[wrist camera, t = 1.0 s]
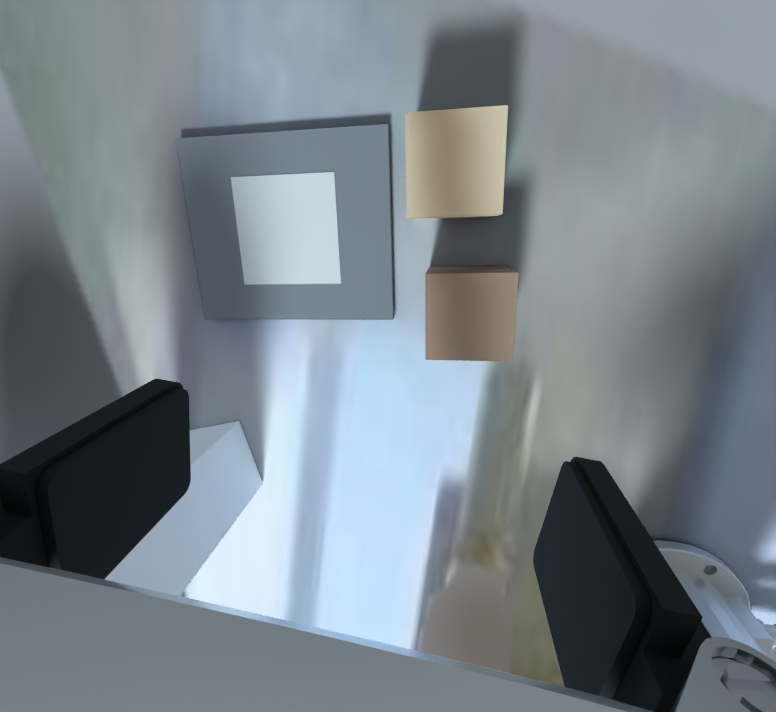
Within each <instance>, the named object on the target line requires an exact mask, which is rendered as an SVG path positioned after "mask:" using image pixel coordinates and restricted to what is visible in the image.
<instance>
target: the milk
mask: <svg viewBox="0 0 776 712" xmlns="http://www.w3.org/2000/svg"><path fill="white" fill-rule="evenodd" d="M190 466H191V482H190V485H189V488H188V490H187V492H186V493H185V494H184V496H183V497H182V498H181V499H180V500H179V501H178V502H177V503H176V504H175V505H174V506H173V507H172V508H171V509H170V510H169V511H168V512H167V514H166V515H165V516H164V517H163V518H162V519H161V520H160V521H159V522H158V523H157V524H156V525H155V526H154V527H153V528H152V529H151V530H150V532H149V533H148V534H147V535H146V536H145V537H144V538H143V539H142V540H141V541H140V542H139V543H138V544H137V545H136V546H135V547H134V548H133V550H132V551H131V552H130V553H129V554H128V555H127V556H126V557H125V558H124V559H123V560H122V561H121V562H120V563H119V564H118V565H117V566H116V568H115V569H114V570H113V571H112V572H111V573H110V574H109V575H108V576H107V577H106V578H105V579H104V580H109V581H113V582H118V583H122V584H127V585H131V586H136V587H140V588H145V589H149V590H153V591H158V592H162V593H167V594H171V595H176V596H180V595H181V594H182V592H183V591H184V590H185V588H186V587H187V586H188V584H189V583H190V582H191V580H192V579H193V577H194V576H195V575H196V573H197V572H198V571H199V569H200V568H201V567H202V565H203V564H204V563H205V561H206V560H207V558H208V557H209V556H210V554H211V553H212V552H213V550H214V549H215V548H216V546H217V545H218V544H219V542H220V541H221V540H222V538H223V537H224V535H225V534H226V533H227V531H228V530H229V529H230V527H231V526H232V525H233V523H234V522H235V521H236V519H237V518H238V517H239V515H240V514H241V512H242V511H243V510H244V508H245V507H246V506H247V504H248V503H249V502H250V500H251V499H252V498H253V496H254V495H255V493H256V492H257V491H258V489H259V488H260V487H261V485H262V484H263V482H262V480H261V477H260V474H259V472H258V469H257V466H256V464H255V461H254V458H253V456H252V453H251V450H250V448H249V445H248V442H247V440H246V437H245V434H244V432H243V429H242V426H241V424H240V422H239V421H236V422H231V423H226V424H220V425H215V426H209V427H204V428H198V429H193V430H190Z"/></svg>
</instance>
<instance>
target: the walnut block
mask: <svg viewBox="0 0 776 712" xmlns="http://www.w3.org/2000/svg"><path fill="white" fill-rule="evenodd" d="M518 277H519V272H517V271H516V270H514V269H512V268H511V267H509V266H508V265H478V266H430V267H429V269H428V270H427V272H426V360H470V361H513V355H514V339H515V324H516V308H517V293H518Z"/></svg>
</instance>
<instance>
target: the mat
mask: <svg viewBox="0 0 776 712" xmlns="http://www.w3.org/2000/svg"><path fill="white" fill-rule="evenodd" d="M176 144H177V150H178V156H179V162H180V169H181V175H182V181H183V187H184V193H185V199H186V206H187V212H188V218H189V224H190V230H191V236H192V243H193V249H194V255H195V261H196V267H197V274H198V280H199V286H200V292H201V298H202V304H203V311H204V317H205V319H355V320H393V319H394V296H393V255H392V214H391V173H390V132H389V125H388V124H379V125H364V126H349V127H335V128H320V129H305V130H291V131H276V132H261V133H247V134H232V135H217V136H203V137H188V138H176Z"/></svg>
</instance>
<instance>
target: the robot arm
mask: <svg viewBox="0 0 776 712" xmlns="http://www.w3.org/2000/svg"><path fill="white" fill-rule="evenodd" d="M190 482H191V466H190V429H189V396H188V392H187V391H186V390H184V389H183V386H182V385H181V384H180V383H177V382H172V381H166V380H161V379H154V380H152V381H150V382H148V383H147V384H145V385H143V386H141V387H139V388H138V389H136V390H134V391H132V392H130V393H128V394H127V395H125V396H123V397H121V398H119V399H118V400H116V401H114V402H112V403H110V404H109V405H107V406H105V407H103V408H101V409H100V410H98V411H96V412H94V413H92V414H91V415H89V416H87V417H85V418H83V419H81V420H80V421H78V422H76V423H74V424H72V425H70V426H69V427H67V428H65V429H63V430H61V431H60V432H58V433H56V434H54V435H52V436H51V437H49V438H47V439H45V440H43V441H42V442H40V443H38V444H36V445H35V446H32V447H31V448H29V449H27V450H25V451H23V452H22V453H20V454H18V455H16V456H14V457H12V458H11V459H9V460H7V461H5V462H4V463H2V464H0V712H776V647H775V648H772V646H773V645H775V646H776V624H774V625H768V624H764V623H763V622H762V621H761V620H759V619H756V617H755V616H754V615H753V613H752V612H751V606H750V601H749V596H748V594H747V592H746V590H745V588H744V586H743V584H742V583H741V582H740V580H739V579H738V578H737V577H736V575H735V574H734V573H733V572H732V570H731V569H730V568H729V567H727V566H726V565H725V564H724V563H723V562H722V561H721V560H720V559H718V558H717V557H715V556H713V555H712V554H710V553H709V552H707V551H704V550H702V549H699V548H697V547H694V546H692V545H688V544H683V543H679V542H674V541H661V540H654V541H653V540H652V538H651V537H650V535H649V534H648V532H647V531H646V529H645V527H644V526H643V524H642V523H641V521H640V520H639V518H638V517H637V515H636V514H635V512H634V510H633V509H632V507H631V506H630V504H629V503H628V501H627V500H626V498H625V497H624V495H623V494H622V492H621V490H620V489H619V487H618V486H617V484H616V483H615V481H614V480H613V478H612V477H611V475H610V473H609V472H608V470H607V469H606V467H605V466H604V464H603V463H602V462H600V461H595V460H590V459H584V458H579V457H574V458H573V459H572V460H571V462H567V461H566V462H564V463H563V465H562V467H561V470H560V473H559V476H558V479H557V482H556V486H555V489H554V492H553V495H552V498H551V501H550V504H549V507H548V510H547V513H546V516H545V519H544V522H543V525H542V529H541V532H540V535H539V538H538V541H537V544H536V547H535V550H534V558H533V561H534V569H535V572H536V576H537V580H538V584H539V588H540V592H541V596H542V600H543V604H544V607H545V611H546V615H547V619H548V623H549V627H550V631H551V635H552V639H553V643H554V646H555V650H556V654H557V658H558V662H559V666H560V670H561V674H562V678H563V681H564V685H565V687H562V686H558V685H554V684H550V683H546V682H542V681H538V680H534V679H530V678H527V677H523V676H519V675H515V674H511V673H507V672H503V671H498V670H494V669H490V668H486V667H482V666H477V665H473V664H469V663H464V662H460V661H456V660H452V659H447V658H444V657H439V656H435V655H430V654H427V653H422V652H418V651H414V650H410V649H406V648H401V647H397V646H393V645H389V644H384V643H380V642H376V641H372V640H367V639H363V638H359V637H355V636H350V635H346V634H342V633H337V632H333V631H329V630H324V629H320V628H316V627H311V626H307V625H303V624H298V623H294V622H290V621H285V620H281V619H277V618H272V617H268V616H264V615H259V614H255V613H251V612H246V611H242V610H237V609H233V608H229V607H224V606H220V605H216V604H211V603H207V602H202V601H198V600H194V599H189V598H185V597H180V596H176V595H171V594H167V593H162V592H158V591H153V590H149V589H145V588H140V587H136V586H131V585H127V584H122V583H118V582H113V581H109V580H104V579H105V578H106V577H107V576H108V575H109V574H110V573H111V572H112V571H113V570H114V569H115V568H116V566H117V565H118V564H119V563H120V562H121V561H122V560H123V559H124V558H125V557H126V556H127V555H128V554H129V553H130V552H131V551H132V550H133V548H134V547H135V546H136V545H137V544H138V543H139V542H140V541H141V540H142V539H143V538H144V537H145V536H146V535H147V534H148V533H149V532H150V530H151V529H152V528H153V527H154V526H155V525H156V524H157V523H158V522H159V521H160V520H161V519H162V518H163V517H164V516H165V515H166V514H167V512H168V511H169V510H170V509H171V508H172V507H173V506H174V505H175V504H176V503H177V502H178V501H179V500H180V499H181V498H182V497H183V496H184V494H185V493H186V492H187V490H188V488H189V485H190Z"/></svg>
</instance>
